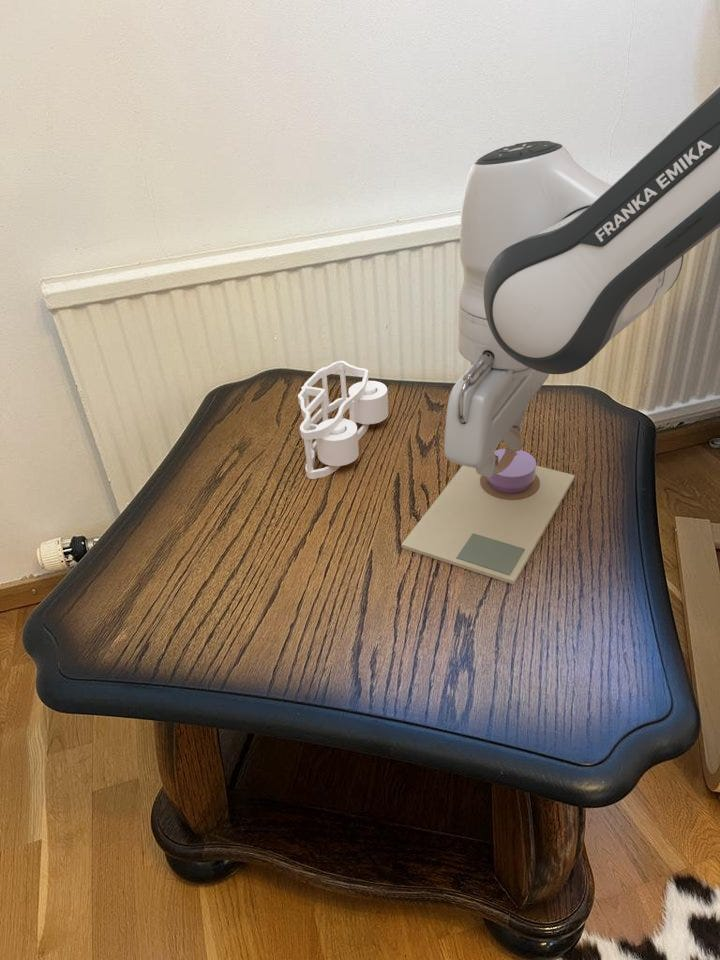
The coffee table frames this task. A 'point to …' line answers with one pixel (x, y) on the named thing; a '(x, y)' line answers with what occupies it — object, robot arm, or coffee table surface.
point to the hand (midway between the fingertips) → (498, 455)
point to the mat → (488, 523)
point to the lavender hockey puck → (514, 473)
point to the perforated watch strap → (510, 448)
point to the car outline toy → (339, 417)
